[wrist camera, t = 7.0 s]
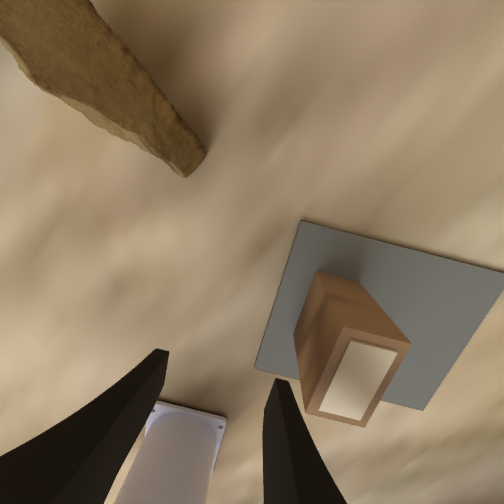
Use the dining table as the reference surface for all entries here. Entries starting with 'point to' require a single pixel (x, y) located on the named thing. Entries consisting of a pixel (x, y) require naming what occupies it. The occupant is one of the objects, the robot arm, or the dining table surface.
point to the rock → (96, 76)
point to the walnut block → (345, 350)
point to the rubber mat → (386, 304)
